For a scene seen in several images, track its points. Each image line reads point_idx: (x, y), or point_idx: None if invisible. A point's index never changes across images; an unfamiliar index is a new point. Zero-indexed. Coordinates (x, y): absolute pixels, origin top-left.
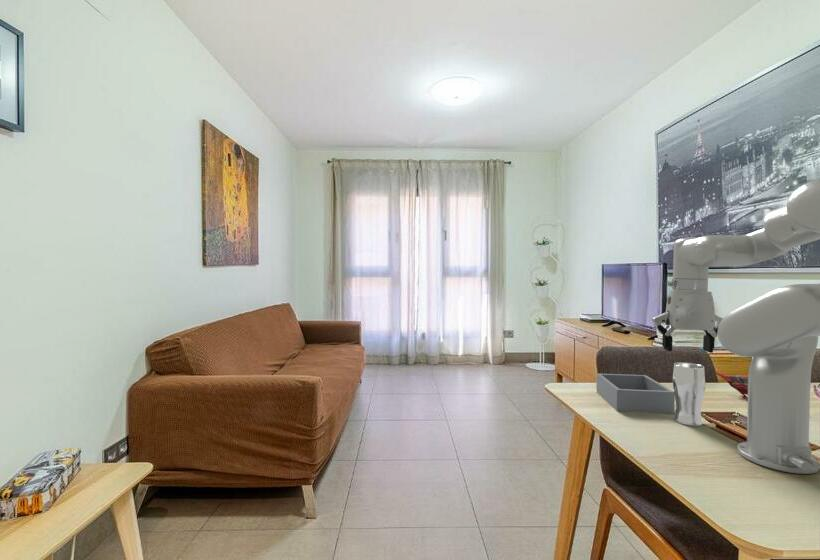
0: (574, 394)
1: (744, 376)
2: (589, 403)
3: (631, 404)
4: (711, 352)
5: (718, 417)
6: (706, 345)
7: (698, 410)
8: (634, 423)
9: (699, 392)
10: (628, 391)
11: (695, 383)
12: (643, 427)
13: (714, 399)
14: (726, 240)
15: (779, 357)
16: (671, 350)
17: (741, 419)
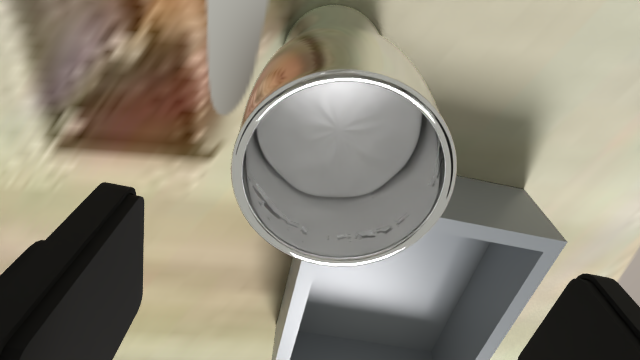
0: None
1: None
2: (557, 261)
3: (483, 193)
4: (121, 187)
5: (164, 97)
6: (111, 303)
7: (320, 25)
8: (573, 61)
9: (334, 24)
10: (516, 229)
11: (368, 37)
12: (576, 13)
13: None
14: None
15: None
16: (595, 275)
17: (79, 69)
